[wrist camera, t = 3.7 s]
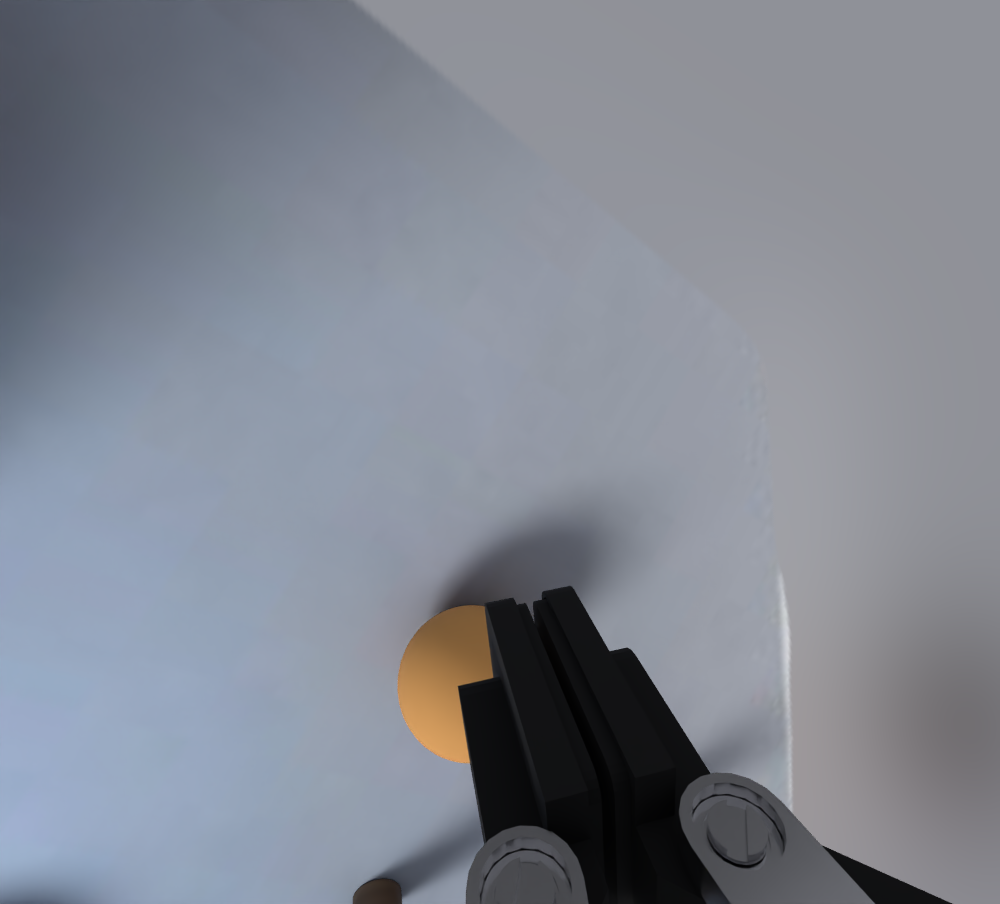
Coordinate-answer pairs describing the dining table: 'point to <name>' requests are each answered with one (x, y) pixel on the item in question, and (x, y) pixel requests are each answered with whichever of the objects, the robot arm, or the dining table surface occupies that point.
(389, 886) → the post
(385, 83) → the dining table surface
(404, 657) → the ball
